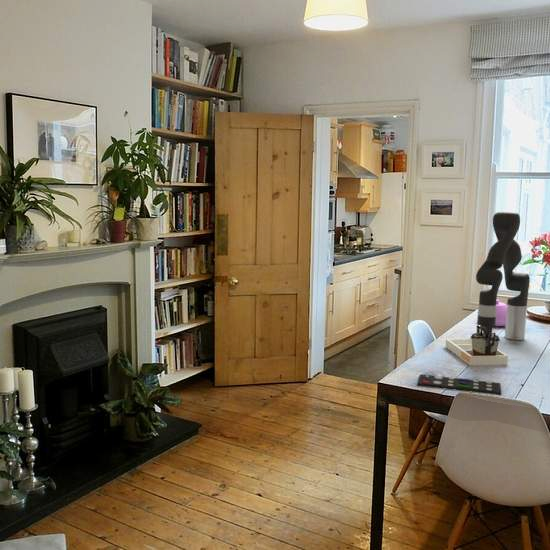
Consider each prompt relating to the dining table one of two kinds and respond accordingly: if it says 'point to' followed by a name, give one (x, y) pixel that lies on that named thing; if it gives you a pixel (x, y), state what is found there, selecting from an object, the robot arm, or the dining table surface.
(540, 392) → the dining table surface
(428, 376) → the remote control
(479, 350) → the food container
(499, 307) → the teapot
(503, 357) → the cream compartment tray
